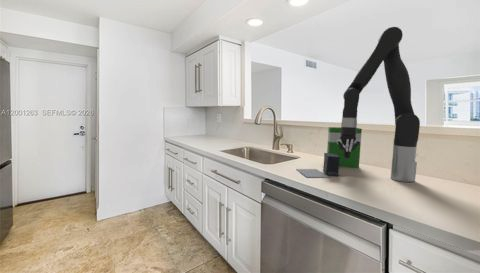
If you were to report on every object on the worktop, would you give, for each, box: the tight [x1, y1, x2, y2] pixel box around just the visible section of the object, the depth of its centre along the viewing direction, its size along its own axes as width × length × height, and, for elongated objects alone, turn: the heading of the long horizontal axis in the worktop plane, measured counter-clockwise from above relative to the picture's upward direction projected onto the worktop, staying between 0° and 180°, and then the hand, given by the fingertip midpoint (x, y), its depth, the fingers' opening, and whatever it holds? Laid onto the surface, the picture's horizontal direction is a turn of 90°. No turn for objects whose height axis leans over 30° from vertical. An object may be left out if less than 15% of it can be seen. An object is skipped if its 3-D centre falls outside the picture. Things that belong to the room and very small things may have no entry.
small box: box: [322, 152, 340, 177], centre depth 121 cm, size 11×6×10 cm, turn 168°
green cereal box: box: [326, 126, 363, 169], centre depth 140 cm, size 18×7×24 cm, turn 76°
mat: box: [296, 168, 331, 179], centre depth 121 cm, size 12×16×1 cm
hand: (346, 158), depth 121 cm, fingers closed
